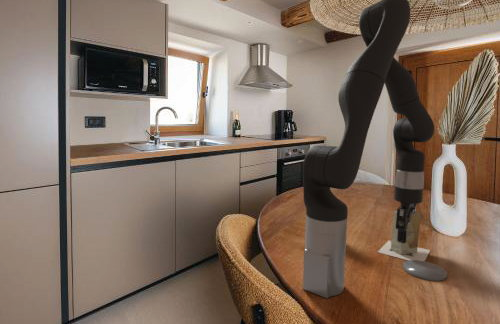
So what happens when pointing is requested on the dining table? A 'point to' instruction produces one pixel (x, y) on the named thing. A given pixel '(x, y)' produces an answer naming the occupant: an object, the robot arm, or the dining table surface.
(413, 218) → the skincare box
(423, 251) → the card
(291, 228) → the dining table surface
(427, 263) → the slate coaster
